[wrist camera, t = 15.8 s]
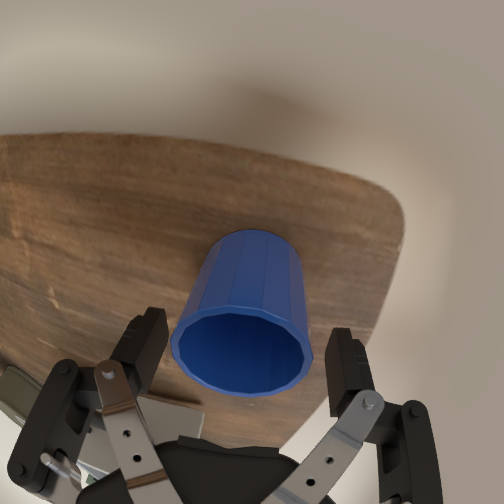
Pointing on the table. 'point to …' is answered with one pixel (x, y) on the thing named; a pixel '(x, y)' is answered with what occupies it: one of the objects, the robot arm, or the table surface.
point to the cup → (246, 318)
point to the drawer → (158, 421)
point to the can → (17, 394)
